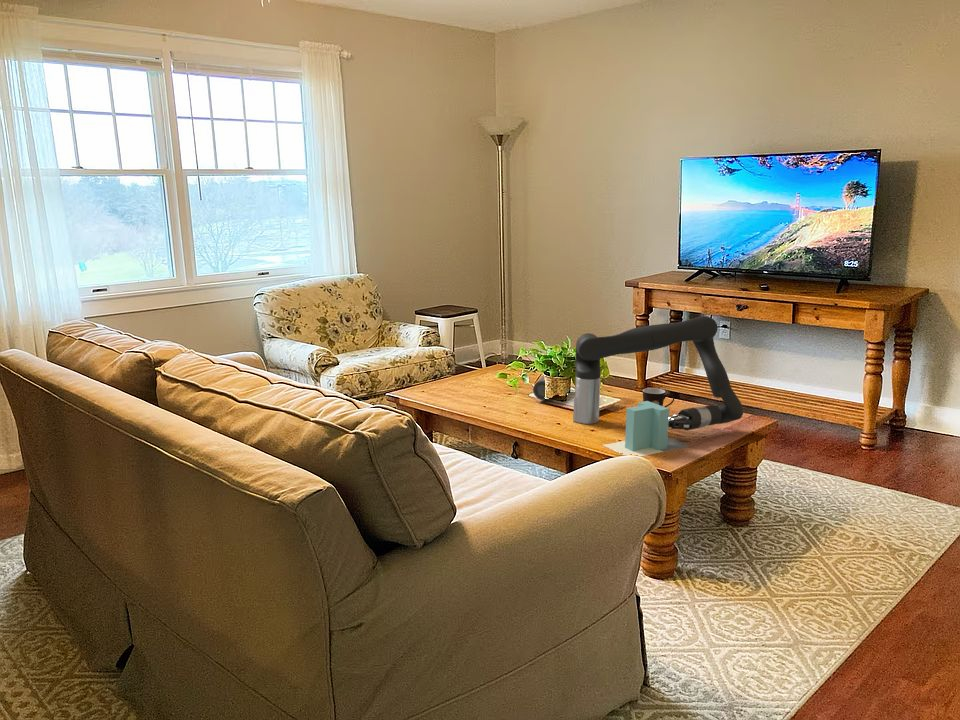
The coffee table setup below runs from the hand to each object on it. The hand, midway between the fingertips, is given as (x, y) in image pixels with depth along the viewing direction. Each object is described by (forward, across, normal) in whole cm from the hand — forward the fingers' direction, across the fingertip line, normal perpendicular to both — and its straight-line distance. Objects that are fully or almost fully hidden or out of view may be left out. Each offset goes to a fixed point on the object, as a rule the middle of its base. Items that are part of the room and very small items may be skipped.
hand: (656, 424), depth 270 cm
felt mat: (+4, 0, +8) cm, 9 cm away
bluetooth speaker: (-3, -70, +8) cm, 71 cm away
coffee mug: (-24, -27, +8) cm, 37 cm away
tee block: (+6, 0, +7) cm, 9 cm away
